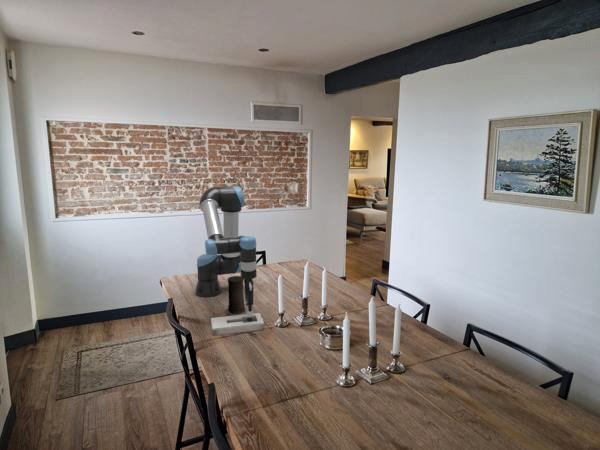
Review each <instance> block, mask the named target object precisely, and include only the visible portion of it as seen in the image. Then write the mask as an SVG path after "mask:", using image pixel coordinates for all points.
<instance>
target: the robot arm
mask: <svg viewBox="0 0 600 450" xmlns="http://www.w3.org/2000/svg"><path fill="white" fill-rule="evenodd" d="M244 195H245V194H244V191H243V189H242V188H241V187H240V186H234V185H233V186H229V185H228V186H212V187H210V188H207V190H205V191H204V192H203V193H202V195H201V196H200V200H199V208H200V210H201V211H202V213H203V219H204V224H205V230H206V235H207V239H205V240H204V245H205V247H204V249H205V253H204V254H201V255H199V256H198V257H197V260H196V266H197V268H196V269H197V283H196V287H195V292H194V293H195V295H196V296H197V297H203V298H211V297H215V296H218V295H220V294H222V286H221V284H220V281H219V276H222V275H232V274H233V275H234V274H235V275H236V274H240V276H241V278H243V279H244V280H243V285H244V300H245V314H246V315H247V318H248V317H253V313H254V310H253V307H254V288H255V287H254V284H255V283H254V281H253V280H254V279H255V278H257V239H256V237H255V236H250V235H249V236H247V235H239V216H240V215H239V213H240V212H242V208H243V207H245V204H246V203H245V197H244ZM219 208H220V211H221V212H222V213H223V229H222V224H221V219H220V215H219V211H218V209H219Z"/></svg>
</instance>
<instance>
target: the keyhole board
mask: <svg viewBox="0 0 600 450" xmlns="http://www.w3.org/2000/svg"><path fill="white" fill-rule="evenodd" d="M246 319H247V315H246V313H244V314H234V315H228V316H220V317H219V316H217V317H211V318H210V323H211V324H210V326H211V332H212V336H221V335H229V334H230V335H231V334H237V333H238V334H239V333H244V332H246V333H247V332H254V331H261V330H263V331H264V329H265V322H264V320H263V318H262V315H261V313H260V312H253V317H252V319H254V320H255V322H246V323H244V320H246Z"/></svg>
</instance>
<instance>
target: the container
mask: <svg viewBox="0 0 600 450" xmlns="http://www.w3.org/2000/svg"><path fill="white" fill-rule="evenodd" d="M227 284H228V305H227V313H230V314H234V315H239V314H243V313H245V312H246V304H245V293H244V279H243V278H241V275H235V276H233V275H231V276H229V277H228V278H227Z"/></svg>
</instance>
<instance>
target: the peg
mask: <svg viewBox="0 0 600 450" xmlns="http://www.w3.org/2000/svg"><path fill="white" fill-rule="evenodd" d="M246 322H255V320H254V319H252V317H248V318H247V319H246V320H244V323H246Z"/></svg>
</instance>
